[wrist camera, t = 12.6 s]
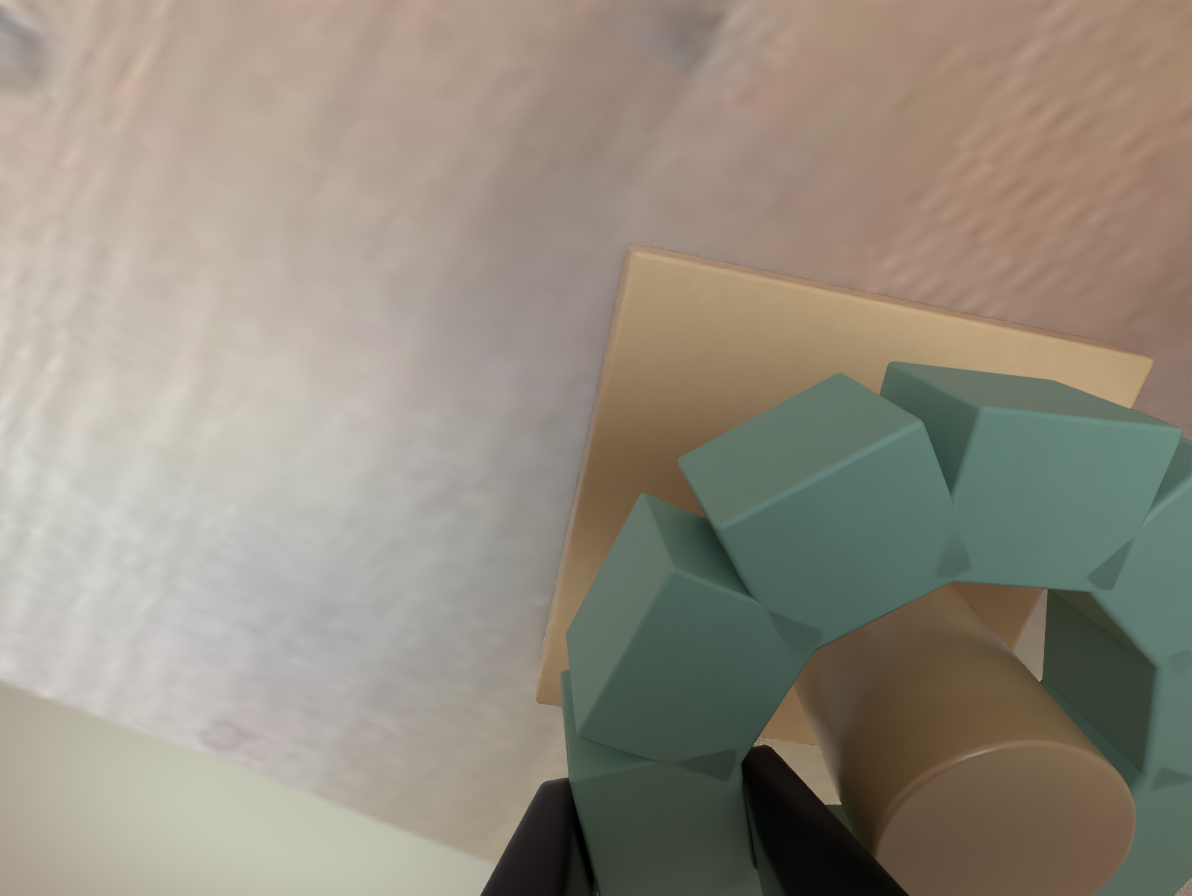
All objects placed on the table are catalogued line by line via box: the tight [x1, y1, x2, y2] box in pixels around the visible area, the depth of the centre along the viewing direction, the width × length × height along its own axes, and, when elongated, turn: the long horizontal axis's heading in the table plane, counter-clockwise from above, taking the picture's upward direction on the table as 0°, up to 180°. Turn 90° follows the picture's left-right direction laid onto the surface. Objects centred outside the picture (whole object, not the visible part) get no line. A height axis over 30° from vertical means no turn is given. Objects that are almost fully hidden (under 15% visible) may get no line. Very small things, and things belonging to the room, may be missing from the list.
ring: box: [560, 361, 1192, 896], centre depth 9 cm, size 8×8×2 cm
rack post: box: [536, 243, 1154, 896], centre depth 10 cm, size 9×9×7 cm
